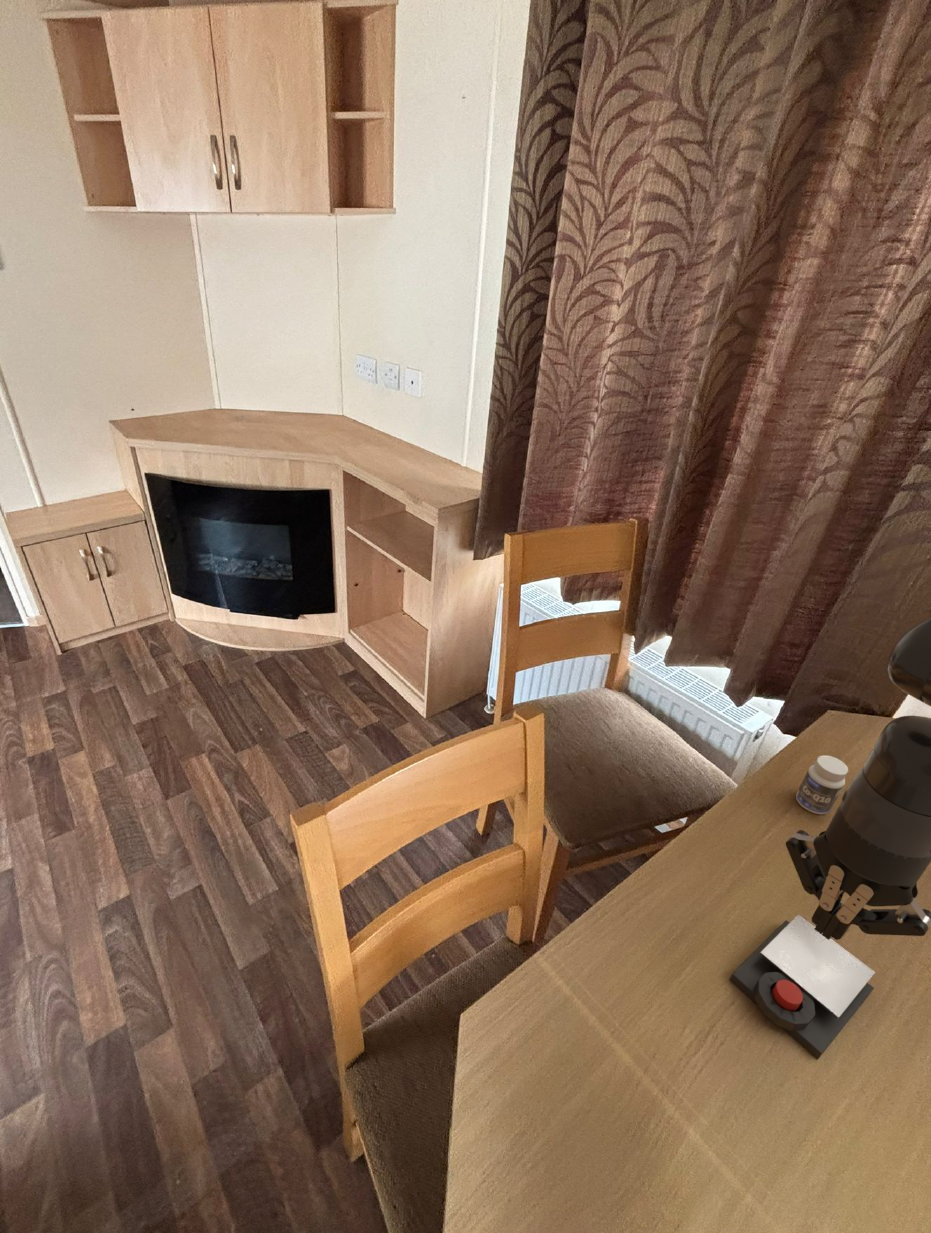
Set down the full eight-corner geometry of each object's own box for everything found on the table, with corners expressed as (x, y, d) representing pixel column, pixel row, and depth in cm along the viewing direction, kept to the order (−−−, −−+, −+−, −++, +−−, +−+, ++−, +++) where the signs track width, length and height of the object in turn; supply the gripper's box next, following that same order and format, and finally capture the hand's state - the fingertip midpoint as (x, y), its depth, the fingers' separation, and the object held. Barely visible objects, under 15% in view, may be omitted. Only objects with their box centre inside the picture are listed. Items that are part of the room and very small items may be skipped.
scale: (782, 926, 78) (790, 912, 76) (869, 994, 71) (879, 980, 69) (722, 986, 72) (729, 972, 70) (811, 1068, 65) (821, 1054, 63)
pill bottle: (791, 803, 95) (809, 764, 90) (800, 787, 98) (819, 748, 93) (825, 820, 92) (846, 781, 88) (834, 803, 95) (855, 764, 90)
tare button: (779, 981, 70) (784, 974, 69) (803, 1001, 68) (807, 994, 67) (767, 995, 68) (771, 988, 68) (791, 1015, 66) (795, 1009, 66)
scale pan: (797, 915, 76) (798, 913, 76) (874, 974, 70) (875, 972, 70) (759, 954, 72) (760, 952, 72) (837, 1019, 66) (838, 1017, 66)
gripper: (996, 850, 53) (912, 961, 62) (832, 760, 62) (780, 868, 71) (963, 896, 49) (879, 1006, 58) (794, 793, 59) (745, 902, 68)
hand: (825, 930), depth 65 cm, fingers closed
